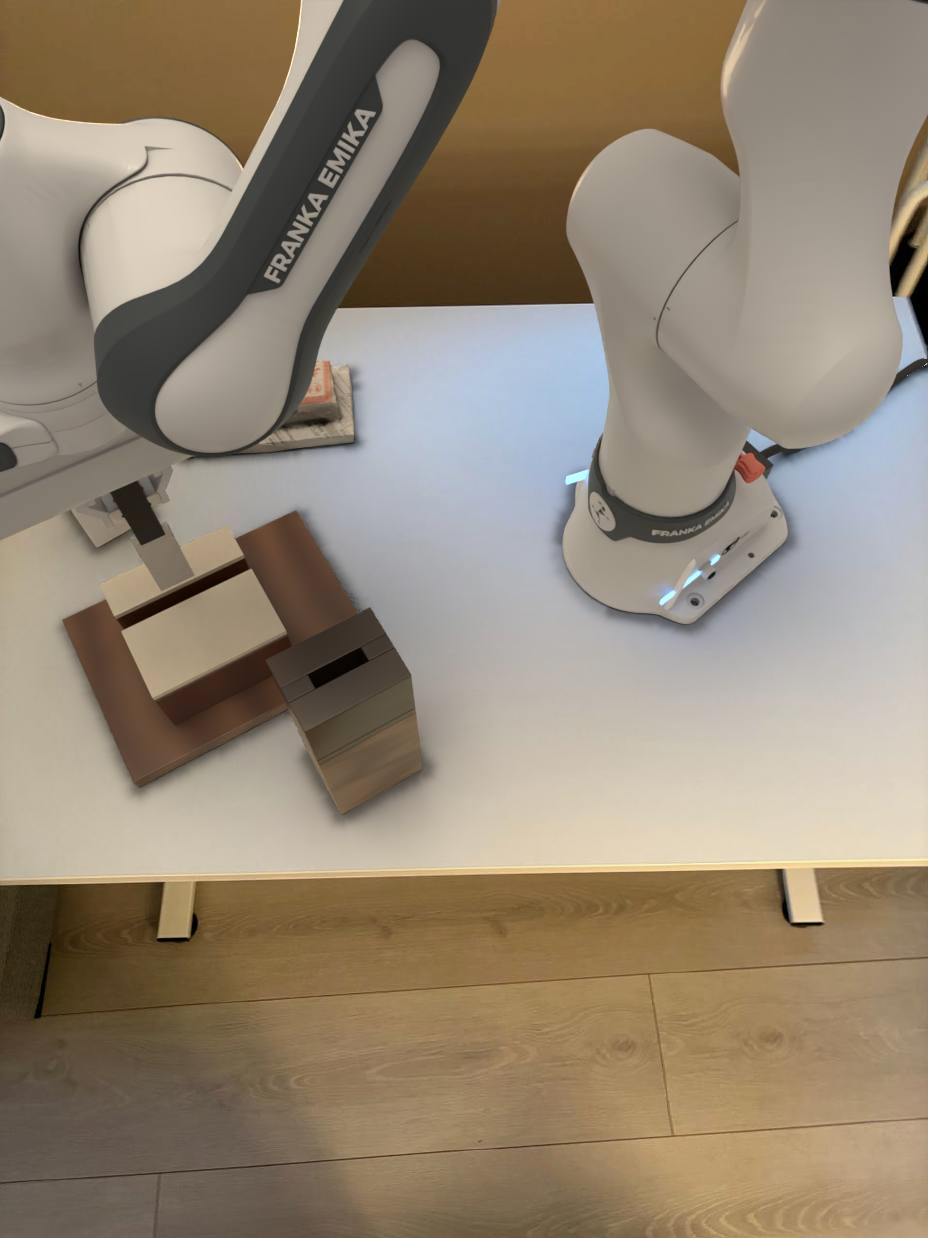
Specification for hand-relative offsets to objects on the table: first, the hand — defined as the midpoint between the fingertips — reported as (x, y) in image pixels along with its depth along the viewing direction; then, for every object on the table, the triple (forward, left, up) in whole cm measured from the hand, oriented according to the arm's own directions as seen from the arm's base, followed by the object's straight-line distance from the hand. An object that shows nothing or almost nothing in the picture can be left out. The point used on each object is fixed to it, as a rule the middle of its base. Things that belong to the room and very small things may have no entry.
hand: (135, 508), depth 67 cm
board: (-1, +2, -21) cm, 21 cm away
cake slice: (0, -3, -19) cm, 20 cm away
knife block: (-7, +19, -21) cm, 29 cm away
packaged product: (-16, -20, -21) cm, 33 cm away
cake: (0, +4, -19) cm, 20 cm away
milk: (+3, -17, -21) cm, 27 cm away
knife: (0, 0, -11) cm, 11 cm away
